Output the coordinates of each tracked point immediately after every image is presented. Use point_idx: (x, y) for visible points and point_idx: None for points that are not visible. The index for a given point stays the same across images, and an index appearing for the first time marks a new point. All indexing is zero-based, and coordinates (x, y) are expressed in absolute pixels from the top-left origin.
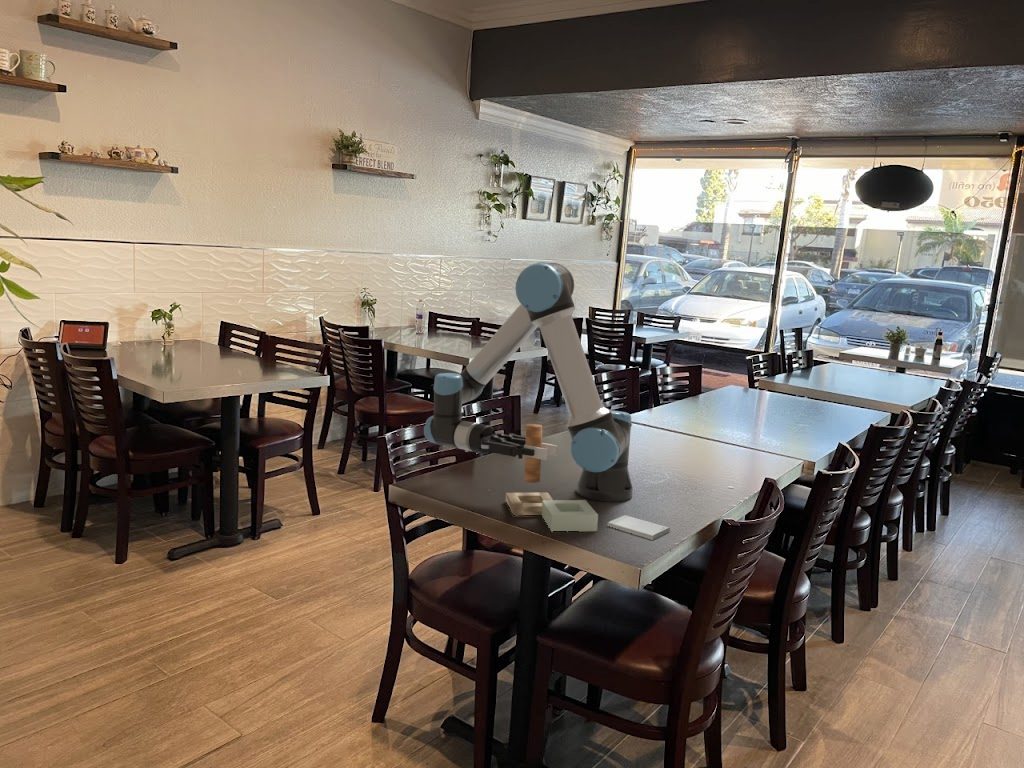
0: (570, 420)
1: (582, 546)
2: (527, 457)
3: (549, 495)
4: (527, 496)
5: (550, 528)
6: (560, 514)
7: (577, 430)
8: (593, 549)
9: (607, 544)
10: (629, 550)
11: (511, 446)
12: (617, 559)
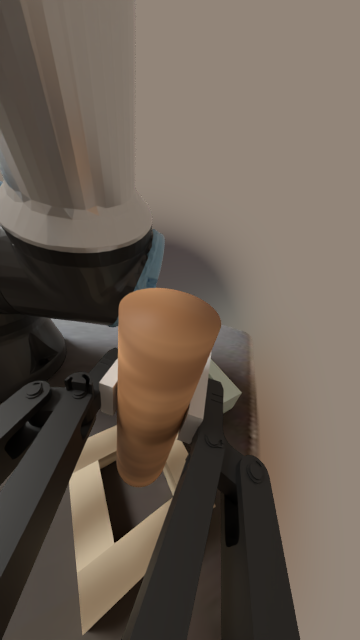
0: (105, 226)
1: (245, 369)
2: (178, 431)
3: (94, 435)
4: (105, 502)
5: (228, 409)
6: (229, 383)
7: (142, 251)
8: (243, 360)
9: (222, 350)
10: (222, 337)
11: (267, 492)
12: (247, 344)
